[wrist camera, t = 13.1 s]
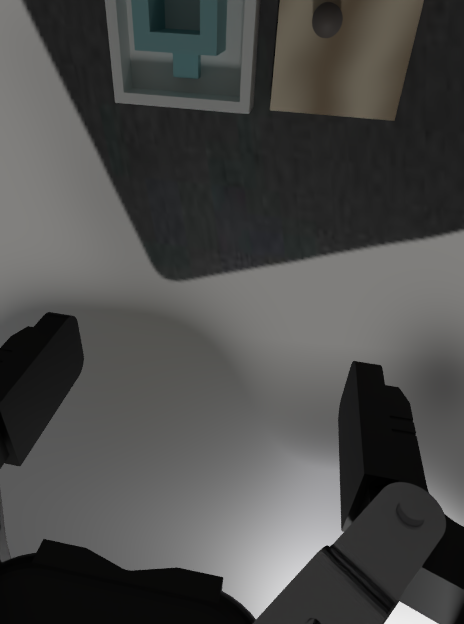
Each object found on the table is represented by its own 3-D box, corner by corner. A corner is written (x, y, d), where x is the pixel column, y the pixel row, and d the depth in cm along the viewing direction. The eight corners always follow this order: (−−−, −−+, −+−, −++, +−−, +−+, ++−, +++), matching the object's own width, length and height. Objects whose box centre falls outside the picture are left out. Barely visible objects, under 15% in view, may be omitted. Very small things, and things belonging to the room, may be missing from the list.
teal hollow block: (228, -49, 31) (218, -54, 28) (224, 78, 36) (215, 87, 33) (146, -52, 32) (126, -58, 29) (152, 73, 37) (137, 81, 33)
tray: (266, -83, 30) (262, -90, 28) (253, 106, 38) (248, 113, 35) (112, -90, 32) (95, -97, 29) (127, 95, 39) (115, 102, 36)
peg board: (430, -38, 31) (445, -42, 27) (392, 117, 36) (400, 131, 33) (284, -45, 32) (280, -50, 28) (271, 107, 37) (266, 119, 34)
